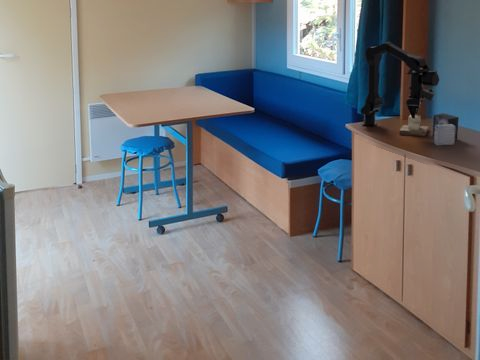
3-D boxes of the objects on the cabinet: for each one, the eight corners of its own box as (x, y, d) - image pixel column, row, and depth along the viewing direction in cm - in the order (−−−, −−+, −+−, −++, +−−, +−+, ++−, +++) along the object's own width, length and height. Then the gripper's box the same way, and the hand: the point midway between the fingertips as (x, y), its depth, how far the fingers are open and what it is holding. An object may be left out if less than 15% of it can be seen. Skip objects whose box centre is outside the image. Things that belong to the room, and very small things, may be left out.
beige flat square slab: (403, 128, 314) (403, 124, 313) (428, 130, 309) (428, 126, 309) (399, 134, 303) (399, 130, 303) (424, 135, 299) (425, 131, 298)
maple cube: (409, 126, 309) (410, 114, 307) (420, 127, 307) (420, 115, 305) (408, 129, 304) (408, 116, 303) (418, 129, 303) (419, 117, 301)
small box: (431, 136, 298) (432, 114, 295) (442, 134, 300) (443, 112, 297) (446, 141, 289) (448, 118, 285) (457, 139, 291) (459, 116, 288)
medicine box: (450, 142, 286) (452, 123, 283) (454, 144, 282) (455, 126, 279) (433, 143, 286) (434, 124, 283) (437, 145, 281) (438, 126, 279)
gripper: (431, 87, 288) (429, 121, 293) (436, 81, 304) (434, 113, 309) (406, 87, 292) (405, 120, 297) (412, 80, 308) (411, 112, 313)
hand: (414, 116), depth 304 cm, fingers open, 9 cm apart
